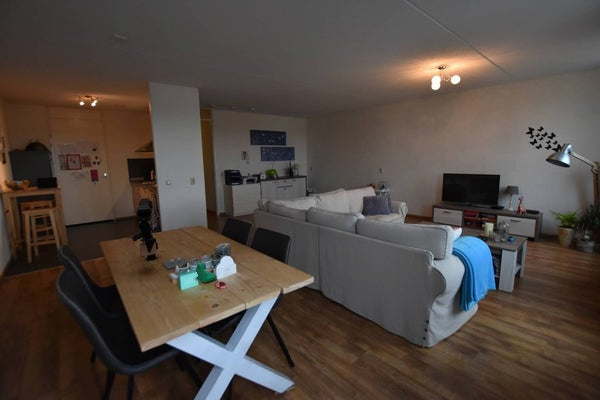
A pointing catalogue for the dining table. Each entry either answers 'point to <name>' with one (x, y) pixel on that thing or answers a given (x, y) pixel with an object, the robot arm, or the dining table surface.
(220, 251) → the light bulb box
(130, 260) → the dining table surface
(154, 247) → the housing
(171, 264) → the base plate
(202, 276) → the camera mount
